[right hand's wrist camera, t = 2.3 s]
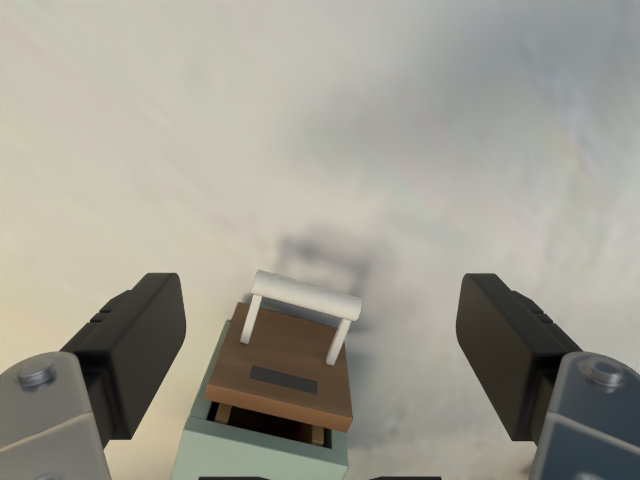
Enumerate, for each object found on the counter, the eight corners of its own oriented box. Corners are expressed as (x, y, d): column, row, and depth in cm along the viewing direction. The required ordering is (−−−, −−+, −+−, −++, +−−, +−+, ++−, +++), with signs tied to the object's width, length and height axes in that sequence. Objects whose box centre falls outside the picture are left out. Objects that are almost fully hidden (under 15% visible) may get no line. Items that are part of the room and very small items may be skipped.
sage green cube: (226, 320, 33) (182, 429, 22) (339, 349, 34) (348, 467, 23) (195, 432, 37) (147, 568, 27) (296, 455, 39) (288, 594, 28)
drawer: (255, 240, 29) (228, 304, 20) (366, 272, 30) (386, 346, 22) (207, 410, 35) (171, 516, 26) (301, 432, 36) (297, 541, 27)
